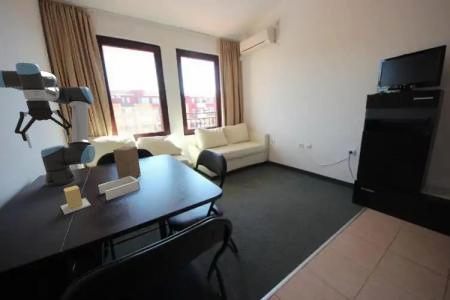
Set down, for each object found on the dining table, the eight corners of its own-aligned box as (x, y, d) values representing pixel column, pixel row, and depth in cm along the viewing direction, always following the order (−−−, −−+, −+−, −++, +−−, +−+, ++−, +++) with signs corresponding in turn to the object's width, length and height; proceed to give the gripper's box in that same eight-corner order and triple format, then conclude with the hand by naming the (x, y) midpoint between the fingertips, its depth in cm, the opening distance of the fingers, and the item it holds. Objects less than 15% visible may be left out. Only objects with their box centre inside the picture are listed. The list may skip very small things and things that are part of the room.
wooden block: (131, 180, 121) (126, 150, 116) (118, 179, 123) (112, 149, 118) (141, 174, 131) (136, 146, 126) (128, 173, 133) (123, 146, 128)
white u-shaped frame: (100, 193, 104) (98, 185, 103) (131, 183, 116) (130, 175, 115) (107, 200, 96) (105, 191, 95) (140, 188, 108) (138, 180, 107)
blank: (68, 205, 91) (63, 188, 89) (80, 201, 95) (76, 185, 92) (70, 209, 88) (65, 191, 85) (83, 204, 91) (78, 188, 89)
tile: (60, 207, 91) (60, 205, 91) (85, 199, 98) (85, 197, 98) (64, 214, 85) (64, 213, 85) (90, 205, 92) (90, 204, 92)
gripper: (-5, 100, 75) (13, 151, 81) (72, 99, 93) (82, 140, 99) (-5, 100, 79) (12, 149, 85) (69, 99, 98) (78, 139, 104)
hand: (50, 144), depth 92 cm, fingers open, 13 cm apart
